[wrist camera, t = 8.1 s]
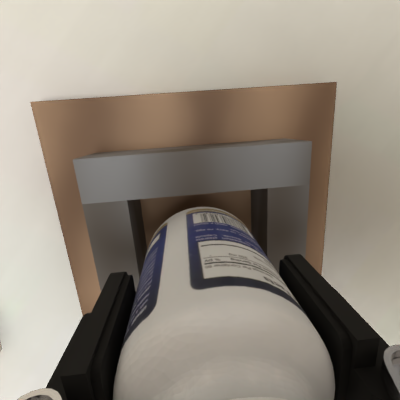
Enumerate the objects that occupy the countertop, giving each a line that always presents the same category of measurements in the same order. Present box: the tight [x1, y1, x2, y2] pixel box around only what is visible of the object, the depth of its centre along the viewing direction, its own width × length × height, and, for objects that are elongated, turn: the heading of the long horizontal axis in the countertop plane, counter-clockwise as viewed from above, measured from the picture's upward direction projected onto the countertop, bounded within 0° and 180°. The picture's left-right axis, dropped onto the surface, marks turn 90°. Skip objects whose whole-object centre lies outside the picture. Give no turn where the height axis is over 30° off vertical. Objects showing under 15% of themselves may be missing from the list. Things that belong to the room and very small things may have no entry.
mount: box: [30, 82, 337, 316], centre depth 14 cm, size 16×16×4 cm
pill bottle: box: [113, 207, 335, 400], centre depth 8 cm, size 5×5×10 cm
